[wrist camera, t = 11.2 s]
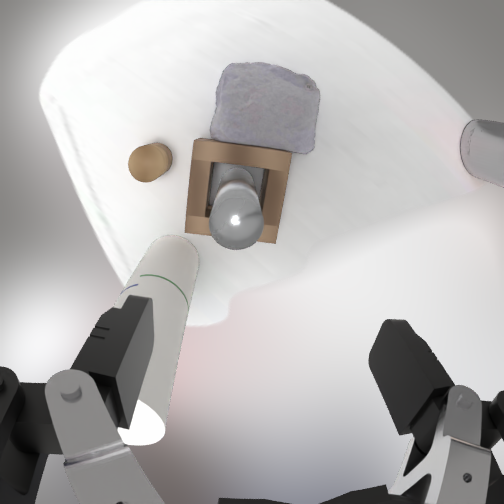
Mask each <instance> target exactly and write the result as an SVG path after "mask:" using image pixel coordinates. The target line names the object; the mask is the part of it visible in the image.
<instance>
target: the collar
mask: <svg viewBox="0 0 504 504" xmlns="http://www.w3.org/2000/svg"><path fill="white" fill-rule="evenodd" d="M291 157H292V153H290V152H288V151H286V150H281V149H275V148H269V147H261V146H252V145H244V144H237V143H230V142H221V141H216V140H213V139H204V138H199V139H196V140H194V144H193V152H192V160H191V169H190V179H189V188H188V199H187V210H186V222H185V233H192V234H200V235H209V236H212V235H211V233H210V229H209V218H210V214H211V211H212V207H213V206H211V205H209V197H210V189H211V180H212V172H213V164H214V162H221V163H229V164H237V165H244V166H252V167H259V168H264V174H263V180H262V186H261V193H260V199H259V204H260V207H261V211H262V215H263V219H264V228H263V232H262V235H261V236H260V238H259V239H258V240H257V241H258V242H266V243H274V244H276V239H277V233H278V228H279V223H280V217H281V212H282V207H283V201H284V196H285V190H286V185H287V179H288V174H289V168H290V163H291Z"/></svg>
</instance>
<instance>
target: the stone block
mask: <svg viewBox="0 0 504 504" xmlns="http://www.w3.org/2000/svg"><path fill="white" fill-rule="evenodd" d="M319 102H320V91H319V89H318V88H317V87H316V84H315V82H314V81H313V80H312V79H311V78H310V77H309V76H307V75H305V74H296V73H294V72H292V71H291V70H289V69H286V68H283V67H280V66H276V65H271V64H267V63H262V62H257V63H232V64H229V65H228V66H227V67H226V68H225V70H224V71H223V73H222V75H221V78H220V81H219V85H218V86H217V90H216V106H217V107H216V110H215V114H214V117H213V119H212V122H211V126H210V132H211V137H212V138H213V139H215V140H216V141H221V142H230V143H237V144H244V145H252V146H261V147H269V148H275V149H281V150H287V151H291V152H296V153H303V154H307V153H309V152H311V151H312V150H313V148H314V144H315V140H314V138H315V126H316V120H317V114H318V108H319Z"/></svg>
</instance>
